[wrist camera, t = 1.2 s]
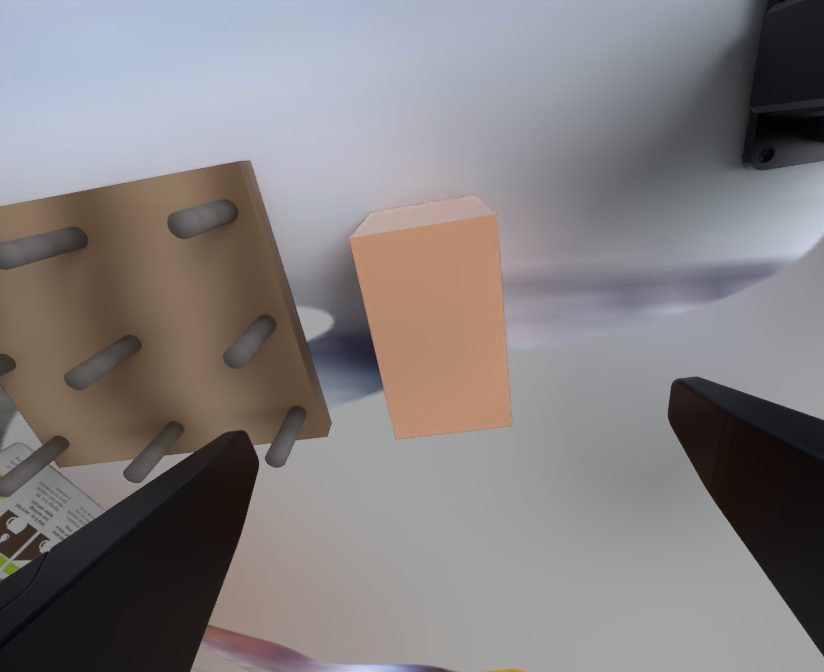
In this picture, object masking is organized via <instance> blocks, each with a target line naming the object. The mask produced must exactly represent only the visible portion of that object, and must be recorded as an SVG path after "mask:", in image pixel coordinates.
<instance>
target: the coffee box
mask: <svg viewBox="0 0 824 672" xmlns="http://www.w3.org/2000/svg"><path fill="white" fill-rule="evenodd" d="M32 453H34V451H33V450H32V449H30V448H29V447H28V446H27V445H25V444H22V443H14V444H12V445H11V446H9V447H7V448H5V449H3V450H2V451H0V478H2V477H3V476H4V475H5V474H7V473H8V472H9V471H11V470H12V469H13V468H14V467H16V466H17V465H18V464H20V463H21V462H22V461H23V460H25V459H26V458H27V457H29V456H30V455H31V454H32ZM104 512H106V510H104V509H103V508H102V507H101V506H100V505H99V504H97V503H96V502H95V501H94V500H92V499H91V498H90V497H89V496H87V495H86V494H85V493H83V492H82V491H81V490H80V489H78V487H76V486H75V485H74V484H73V483H72V482H70V481H69V480H68V479H67V478H66V477H64V476H63V475H62V474H61V473H59V472H58V471H57V470H56V469H54V468H53V467H52V466H51V465H50V464H48V465H47V466H46V467H45V468H43V469H42V470H41V471H40V472H39V473H37V474H36V475H35V476H34V477H33V478H31V479H30V480H29V481H28V482H27V483H25V484H24V485H23V486H22V487H21V488H19V489H18V490H17V491H16V492H15V493H14V494H12V495H11V496H10V497H1V496H0V581H1V580H3V579H4V578H6V577H7V576H9V575H10V574H12V573H14V572H15V571H17V570H18V569H20V568H21V567H23V566H24V565H26V564H27V563H29V562H30V561H32V560H33V559H35V558H36V557H38V556H39V555H41V554H42V553H44V552H46V551H49V550H50V549H51V548H52V547H53V546H55V545H56V544H58V543H59V542H61V541H62V540H64V539H65V538H67V537H68V536H70V535H71V534H73V533H74V532H76V531H77V530H79V529H80V528H82V527H83V526H85V525H86V524H88V523H89V522H91V521H92V520H94V519H95V518H97V517H98V516H100V515H101V514H103V513H104Z"/></svg>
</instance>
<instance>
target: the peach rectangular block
mask: <svg viewBox="0 0 824 672" xmlns="http://www.w3.org/2000/svg"><path fill="white" fill-rule="evenodd" d="M349 241H350V245H351V249H352V254H353V258H354V262H355V267H356V271H357V275H358V280H359V284H360V288H361V292H362V297H363V301H364V305H365V310H366V314H367V318H368V323H369V327H370V331H371V336H372V340H373V344H374V348H375V353H376V357H377V361H378V366H379V370H380V374H381V379H382V383H383V387H384V392H385V396H386V400H387V405H388V409H389V413H390V417H391V422H392V426H393V430H394V435H395V439H405V438H414V437H423V436H432V435H440V434H449V433H457V432H467V431H476V430H484V429H492V428H501V427H511V426H512V416H511V403H510V389H509V375H508V361H507V348H506V335H505V321H504V308H503V294H502V281H501V268H500V254H499V241H498V227H497V214H496V213H495V212H494V211H493V210H492V209H491V208H490V207H489V206H488V205H486V204H485V203H484V202H483V201H482V200H481V199H480V198H479V197H478V196H477V195H476V194H473V195H468V196H462V197H456V198H450V199H444V200H438V201H432V202H427V203H421V204H415V205H409V206H403V207H397V208H392V209H386V210H380V211H374V212H371V213H370V214H369V215H368V216H367V217H366V219H365V220H364V221H363V222H362V223H361V224H360V226H359V227H358V228H357V229H356V230H355V232H354V233H353V234H352V235H351V236H350V237H349Z"/></svg>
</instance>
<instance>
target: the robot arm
mask: <svg viewBox="0 0 824 672" xmlns="http://www.w3.org/2000/svg"><path fill="white" fill-rule="evenodd" d="M750 107H751V109H750V115H749V121H748V127H747V133H746V139H745V145H744V151H743V157H742V159H743V164H744V166H745V167H746V168H748V169H749V170H769V169H775V168H781V167H787V166H793V165H799V164H805V163H811V162H817V161H823V160H824V0H769V2H768V8H767V14H766V16H765V17H764V21H763V27H762V33H761V39H760V45H759V51H758V57H757V63H756V69H755V75H754V81H753V87H752V93H751V99H750ZM763 148H765V149H766V154H765V156H764V158H763V159H762V160H761V161H759V154H760V151H761V150H762V149H763ZM668 419H669V422H670V425H671V427H672V428H673V430H674V432H675V434H676V436H677V438H678V439H679V441H680V443H681V445H682V446H683V448H684V450H685V452H686V454H687V456H688V457H689V459H690V461H691V462H692V465H693V466H694V468H695V470H696V472H697V474H698V475H699V477H700V479H701V481H702V482H703V484H704V486H705V487H706V489H707V490H708V492H709V494H710V495H711V497H712V498H713V500H714V501H715V503H716V504H717V506H718V507H719V509H720V510H721V511H722V513H723V514H724V516H725V517H726V518H727V520H728V521H729V523H730V524H731V526H732V527H733V528H734V530H735V531H736V533H737V534H738V536H739V537H740V538H741V540H742V541H743V543H744V544H745V545H746V547H747V548H748V550H749V551H750V552H751V554H752V555H753V557H754V558H755V560H756V561H757V562H758V564H759V565H760V567H761V568H762V569H763V571H764V572H765V574H766V575H767V577H768V578H769V580H770V581H771V582H772V584H773V585H774V587H775V588H776V589H777V591H778V592H779V594H780V595H781V597H782V598H783V599H784V601H785V602H786V604H787V605H788V606H789V608H790V609H791V611H792V612H793V614H794V615H795V616H796V618H797V619H798V621H799V622H800V624H801V625H802V626H803V628H804V629H805V631H806V632H807V634H808V635H809V636H810V638H811V639H812V641H813V642H814V644H815V645H816V646H817V648H818V649H819V651H820V652H821V653H822V655H823V656H824V420H822V419H819V418H816V417H814V416H811V415H808V414H805V413H802V412H799V411H796V410H793V409H790V408H787V407H784V406H781V405H779V404H776V403H773V402H770V401H767V400H764V399H761V398H758V397H755V396H752V395H750V394H747V393H744V392H741V391H738V390H735V389H732V388H729V387H726V386H723V385H720V384H718V383H715V382H712V381H709V380H706V379H703V378H700V377H688V378H679V379H676V380H674V381H673V383H672V385H671V392H670V399H669V407H668ZM258 469H259V460H258V456H257V454H256V451H255V449H254V447H253V444H252V442H251V440H250V437H249V435H248V433H247V432H246V431H244V430H236V431H228V432H225V433H223V434H222V435H220V436H219V437H217V438H216V439H214V440H213V441H211V442H210V443H208V444H207V445H205V446H203V447H202V448H200V449H199V450H197V451H196V452H194V453H193V454H191V455H190V456H188V457H187V458H185V459H184V460H182V461H181V462H179V463H178V464H176V465H175V466H173V467H172V468H170V469H169V470H167V471H166V472H164V473H163V474H161V475H160V476H158V477H157V478H156V479H154V480H152V481H151V482H149V483H148V484H146V485H145V486H143V487H142V488H140V489H139V490H137V491H136V492H134V493H133V494H131V495H130V496H128V497H127V498H126V499H124V500H122V501H121V502H119V503H118V504H116V505H115V506H113V507H112V508H110V509H109V510H107V511H106V512H104V513H103V514H101V515H100V516H98V517H97V518H95V519H94V520H92V521H91V522H89V523H88V524H86V525H85V526H83V527H82V528H80V529H79V530H77V531H76V532H74V533H73V534H71V535H70V536H68V537H67V538H65V539H64V540H62V541H61V542H59V543H58V544H56V545H55V546H53V547H52V548H51V549H50V550H49V551H46V552H44V553H42V554H41V555H39V556H38V557H36V558H35V559H33V560H32V561H30V562H29V563H27V564H26V565H24V566H23V567H21V568H20V569H18V570H17V571H15V572H14V573H12V574H10V575H9V576H7V577H6V578H4V579H3V580H1V581H0V672H190V671H191V668H192V665H193V663H194V660H195V657H196V654H197V652H198V649H199V646H200V644H201V641H202V638H203V636H204V633H205V630H206V628H207V625H208V622H209V620H210V617H211V614H212V612H213V608H214V606H215V603H216V601H217V598H218V596H219V593H220V590H221V587H222V585H223V582H224V579H225V577H226V574H227V571H228V569H229V566H230V563H231V561H232V558H233V555H234V552H235V550H236V547H237V544H238V542H239V539H240V536H241V533H242V529H243V525H244V523H245V519H246V515H247V511H248V507H249V504H250V500H251V496H252V492H253V488H254V485H255V480H256V477H257V473H258Z"/></svg>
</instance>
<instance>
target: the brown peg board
mask: <svg viewBox="0 0 824 672" xmlns="http://www.w3.org/2000/svg"><path fill="white" fill-rule="evenodd" d="M0 385H1V387H2V388H3V389H4V391H5V392H6V394H7V395H8V396H9V398H10V399H11V401H12V402H13V403H14V405H15V406H16V408H17V409H18V411H19V412H20V413H21V415H22V416H23V417H24V419H25V420H26V422H27V423H28V425H29V426H30V427H31V429H32V430H33V432H34V433H35V434H36V436H37V437H38V438H39V440H40V441H41V443H42V444H43V446H42V447H41V448H39V449H38V450H36V451H35V452H34V453H32V454H31V455H30V456H29V457H27V458H26V459H25V460H23V461H22V462H21V463H20V464H18V465H17V466H16V467H14V468H13V469H12V470H11V471H9V472H8V473H7V474H5V475H4V476H3V477H2V478H0V496H1V497H10V496H11V495H12V494H14V493H15V492H16V491H17V490H18V489H19V488H21V487H22V486H23V485H24V484H25V483H27V482H28V481H29V480H30V479H31V478H33V477H34V476H35V475H36V474H37V473H39V472H40V471H41V470H42V469H43V468H45V467H46V466H47V465H48V464H49V463H50V462H52V461H53V460H54V461H55V463H56V464H57V466H58V467H59V468H61V467H70V466H78V465H87V464H95V463H104V462H112V461H121V460H130V459H134V460H133V462H132V463H131V464H130V465H129V466H128V467H127V468H126V469H125V470H124V472H123V474H124V477H125V478H126V479H127V480H129V481H130V482H133V483H140V482H142V481H143V480H144V479H145V477H146V476H147V475H148V474H149V473H150V472H151V470H152V469H153V468H154V467H155V466H156V464H157V463H158V462H159V461H160V460H161V459H162V457H163V456H164V455H173V454H181V453H190V452H196V451H197V450H199V449H200V448H202V447H203V446H205V445H207V444H208V443H210V442H211V441H213V440H214V439H216V438H217V437H219V436H220V435H222V434H223V433H225V432H228V431H236V430H244V431H246V432H247V433H248V435H249V437H250V440H251V442H252V444H253V445H259V444H267V443H272V444H271V446H270V448H269V451H268V452H267V454H266V456H265V460H266V462H267V464H269V465H270V466H272V467H276V468H277V467H282V466H283V465H285V463H286V460H287V458H288V456H289V454H290V451H291V449H292V447H293V445H294V442H295V440H302V439H310V438H319V437H327V436H328V433H329V430H330V427H331V424H332V423H331V420H330V416H329V413H328V409H327V406H326V403H325V400H324V397H323V393H322V390H321V387H320V384H319V380H318V377H317V374H316V371H315V368H314V364H313V361H312V358H311V355H310V351H309V348H308V345H307V342H306V339H305V336H304V332H303V329H302V326H301V323H300V319H299V316H298V313H297V310H296V306H295V303H294V300H293V297H292V294H291V290H290V287H289V284H288V281H287V277H286V274H285V271H284V268H283V265H282V261H281V258H280V255H279V252H278V248H277V245H276V242H275V239H274V236H273V232H272V229H271V226H270V223H269V219H268V216H267V213H266V210H265V207H264V203H263V200H262V197H261V194H260V190H259V187H258V184H257V181H256V178H255V174H254V171H253V168H252V165H251V161H238V162H233V163H228V164H222V165H217V166H212V167H207V168H201V169H196V170H191V171H186V172H180V173H175V174H170V175H165V176H159V177H154V178H149V179H143V180H138V181H133V182H128V183H122V184H117V185H112V186H107V187H101V188H96V189H91V190H86V191H80V192H75V193H70V194H65V195H59V196H54V197H49V198H43V199H38V200H33V201H28V202H22V203H17V204H12V205H7V206H1V207H0Z"/></svg>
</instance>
